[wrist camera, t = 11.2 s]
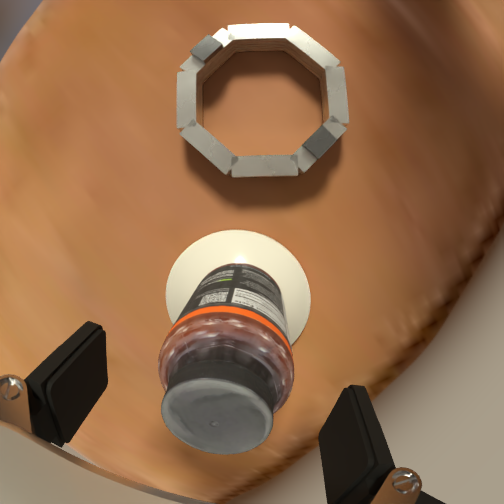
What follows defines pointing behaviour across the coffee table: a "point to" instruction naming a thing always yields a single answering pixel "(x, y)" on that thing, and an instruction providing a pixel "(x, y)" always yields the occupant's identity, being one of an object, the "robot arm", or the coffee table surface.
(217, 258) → the coaster
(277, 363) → the supplement bottle
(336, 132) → the ring holder
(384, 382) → the coffee table surface
